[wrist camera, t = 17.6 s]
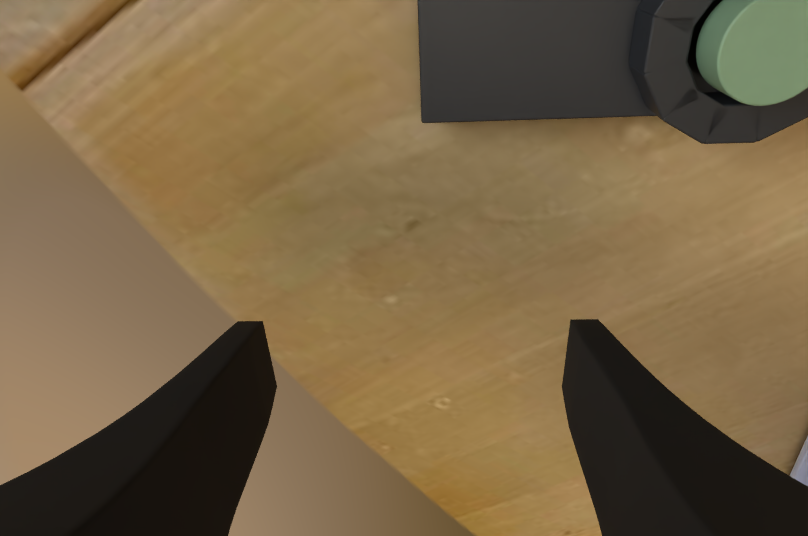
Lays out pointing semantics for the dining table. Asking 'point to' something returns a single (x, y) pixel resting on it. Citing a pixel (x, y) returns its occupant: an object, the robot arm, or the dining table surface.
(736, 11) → the button
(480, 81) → the scale
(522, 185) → the dining table surface
